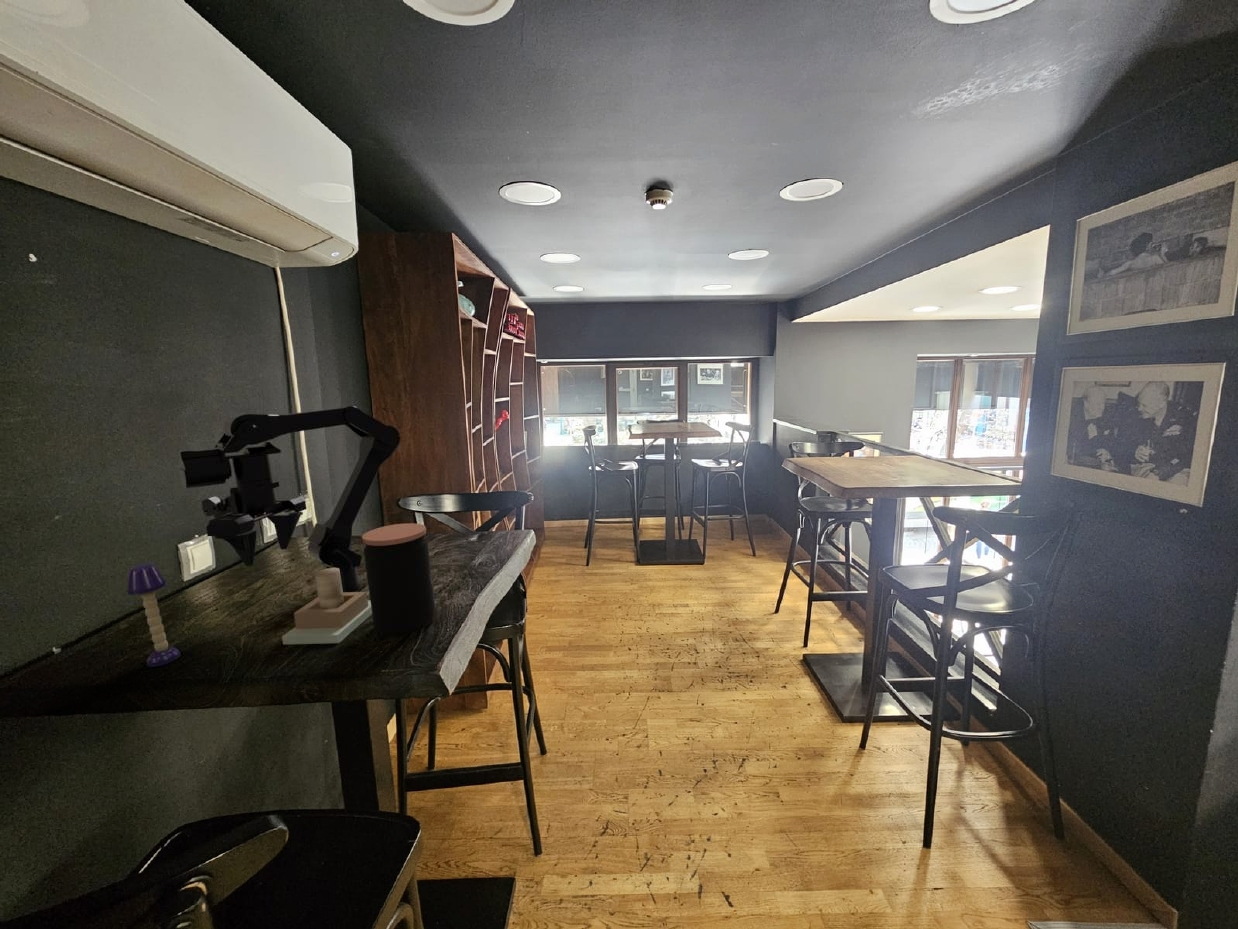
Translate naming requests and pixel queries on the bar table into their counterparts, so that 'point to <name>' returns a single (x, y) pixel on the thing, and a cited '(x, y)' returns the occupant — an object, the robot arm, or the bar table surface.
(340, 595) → the birch peg
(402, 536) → the coffee jar
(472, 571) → the bar table surface
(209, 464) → the robot arm
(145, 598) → the toy lamp
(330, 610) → the socket board
